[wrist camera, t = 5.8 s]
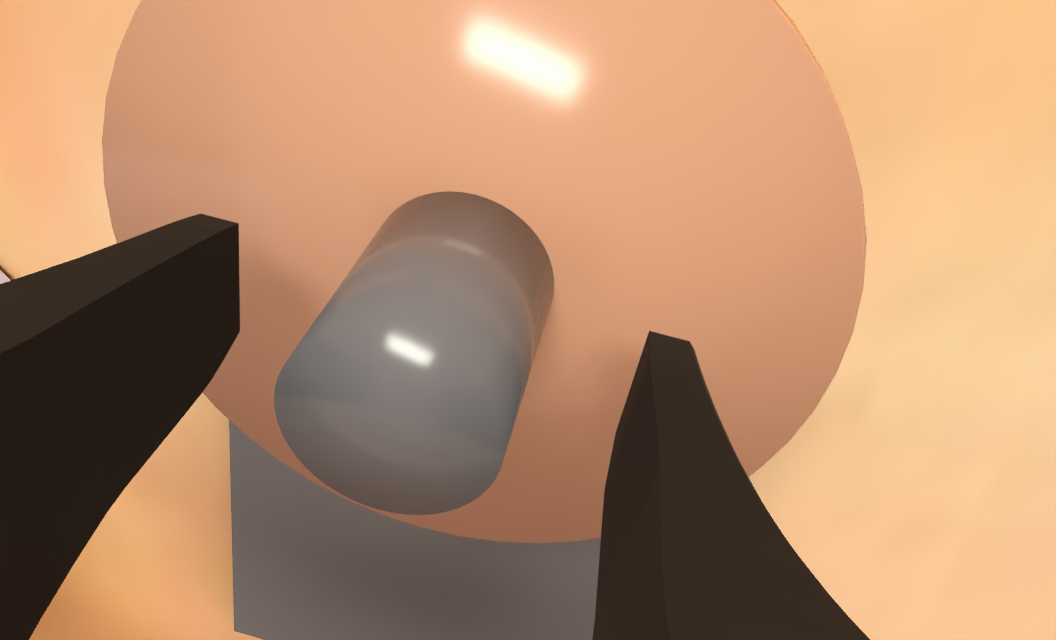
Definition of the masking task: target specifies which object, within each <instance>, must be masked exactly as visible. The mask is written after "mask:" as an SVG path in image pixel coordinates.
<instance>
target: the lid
mask: <svg viewBox="0 0 1056 640" xmlns="http://www.w3.org/2000/svg"><path fill="white" fill-rule="evenodd" d="M102 147H103V167H104V185H105V191H106V196H107V201H108V207H109V212H110V218H111V223H112V228H113V231H114V234H115V237H116V241H117V243H120V242H122V241H125V240H128V239H130V238H133V237H135V236H138V235H141V234H143V233H146V232H148V231H151V230H154V229H156V228H159V227H162V226H164V225H167V224H170V223H172V222H175V221H178V220H181V219H184V218H187V217H190V216H194V215H197V214H200V213H201V214H205V215H209V216H212V217H216V218H220V219H224V220H228V221H232V222H235V223H239V284H240V332H239V334H238V336H237V337H236V339H235V341H234V343H233V345H232V346H231V348H230V350H229V352H228V353H227V355H226V357H225V359H224V360H223V362H222V364H221V365H220V367H219V369H218V370H217V372H216V373H215V375H214V377H213V378H212V380H211V382H210V383H209V384H208V386H207V387H206V388H205V389H204V391H203V393H204V394H205V395H206V397H207V398H208V399H209V400H210V401H211V402H212V403H213V404H214V405H215V407H216V408H217V409H219V410H220V411H221V412H222V413H223V414H224V415H225V416H226V417H227V418H228V419H229V420H230V421H232V422H233V423H234V424H235V425H236V426H237V427H238V428H239V429H240V430H241V431H242V432H243V433H244V434H246V435H247V436H248V437H249V438H251V439H252V440H253V441H255V442H256V443H257V444H258V445H260V446H261V447H262V448H264V449H265V450H266V451H267V452H269V453H270V454H271V455H273V456H274V457H275V458H277V459H278V460H279V461H281V462H282V463H284V464H286V465H287V466H289V467H290V468H292V469H293V470H295V471H297V472H298V473H300V474H301V475H303V476H304V477H306V478H307V479H309V480H311V481H312V482H314V483H316V484H318V485H320V486H322V487H324V488H326V489H327V490H329V491H331V492H333V493H335V494H337V495H339V496H341V497H343V498H345V499H347V500H349V501H351V502H353V503H356V504H358V505H361V506H363V507H365V508H368V509H370V510H372V511H375V512H377V513H380V514H382V515H384V516H388V517H391V518H394V519H397V520H400V521H403V522H406V523H409V524H412V525H416V526H419V527H422V528H426V529H431V530H435V531H439V532H444V533H448V534H453V535H457V536H462V537H469V538H477V539H484V540H492V541H499V542H522V543H552V542H571V541H582V540H588V539H595V538H601V528H602V515H603V502H604V490H605V484H606V479H607V474H608V469H609V464H610V459H611V454H612V449H613V444H614V439H615V434H616V430H617V427H618V424H619V421H620V418H621V415H622V412H623V409H624V406H625V403H626V400H627V397H628V394H629V390H630V387H631V384H632V381H633V378H634V375H635V372H636V369H637V366H638V363H639V360H640V357H641V354H642V351H643V348H644V345H645V342H646V339H647V336H648V333H649V331H652V332H656V333H660V334H664V335H667V336H671V337H675V338H679V339H683V340H687V341H690V343H691V345H692V346H693V348H694V350H695V353H696V356H697V360H698V363H699V366H700V369H701V372H702V374H703V377H704V380H705V383H706V386H707V388H708V391H709V393H710V396H711V398H712V401H713V404H714V406H715V408H716V411H717V413H718V416H719V418H720V420H721V422H722V425H723V427H724V429H725V431H726V433H727V436H728V438H729V440H730V442H731V444H732V447H733V449H734V451H735V453H736V455H737V457H738V459H739V461H740V463H741V465H742V467H743V468H744V470H745V472H746V474H747V476H750V475H751V474H753V473H754V472H756V471H757V470H758V469H759V468H761V467H762V466H763V465H764V464H765V463H766V462H767V461H768V460H769V459H770V458H771V457H772V456H774V455H775V454H776V453H777V452H778V451H779V450H780V449H781V448H782V447H783V446H784V445H786V444H787V443H788V442H789V440H790V439H791V438H792V437H793V436H794V434H795V433H796V432H797V431H798V429H799V428H800V427H801V426H802V425H803V423H804V422H805V421H806V420H807V418H808V417H809V416H810V415H811V414H812V412H813V411H814V410H815V408H816V406H817V405H818V403H819V401H820V400H821V398H822V396H823V395H824V393H825V391H826V390H827V388H828V386H829V385H830V383H831V381H832V380H833V378H834V376H835V375H836V373H837V370H838V368H839V365H840V363H841V360H842V358H843V355H844V353H845V351H846V348H847V346H848V343H849V341H850V338H851V336H852V333H853V330H854V325H855V321H856V317H857V312H858V308H859V304H860V299H861V295H862V291H863V284H864V270H865V256H866V241H867V238H866V227H865V216H864V204H863V193H862V186H861V182H860V178H859V174H858V170H857V166H856V162H855V158H854V154H853V150H852V146H851V142H850V138H849V135H848V131H847V128H846V125H845V122H844V119H843V117H842V114H841V112H840V110H839V107H838V105H837V102H836V100H835V98H834V95H833V93H832V91H831V88H830V86H829V83H828V81H827V79H826V76H825V74H824V72H823V70H822V68H821V66H820V65H819V63H818V61H817V60H816V58H815V56H814V55H813V53H812V52H811V50H810V48H809V47H808V45H807V43H806V42H805V40H804V38H803V37H802V35H801V33H800V32H799V30H798V29H797V27H796V25H795V24H794V22H793V21H792V19H791V18H790V17H789V16H788V15H787V13H786V12H785V11H784V10H783V9H782V7H781V6H780V5H779V4H778V3H777V1H776V0H142V1H141V2H140V4H139V6H138V7H137V9H136V10H135V13H134V15H133V17H132V20H131V22H130V24H129V27H128V29H127V31H126V34H125V36H124V38H123V41H122V43H121V45H120V48H119V50H118V52H117V56H116V60H115V64H114V68H113V72H112V76H111V80H110V84H109V88H108V92H107V96H106V106H105V117H104V127H103V138H102Z"/></svg>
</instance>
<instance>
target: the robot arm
mask: <svg viewBox="0 0 1056 640" xmlns="http://www.w3.org/2000/svg"><path fill="white" fill-rule="evenodd" d="M239 332H240V284H239V223H235V222H232V221H228V220H224V219H220V218H216V217H212V216H209V215H205V214H201V213H200V214H197V215H194V216H190V217H187V218H184V219H181V220H178V221H175V222H172V223H170V224H167V225H164V226H162V227H159V228H156V229H154V230H151V231H148V232H146V233H143V234H141V235H138V236H135V237H133V238H130V239H128V240H125V241H122V242H120V243H117V244H114V245H112V246H109V247H107V248H104V249H101V250H99V251H96V252H93V253H91V254H88V255H85V256H83V257H80V258H77V259H74V260H71V261H68V262H65V263H62V264H59V265H56V266H53V267H50V268H48V269H45V270H42V271H39V272H36V273H33V274H30V275H27V276H24V277H21V278H18V279H15V280H12V281H11V280H10V279H9V278H8V277H7V276H6V275H5V274H4V273H3V272H2V271H1V270H0V640H29V638H30V637H31V635H32V633H33V631H34V630H35V628H36V626H37V624H38V622H39V621H40V619H41V617H42V616H43V614H44V612H45V611H46V609H47V607H48V606H49V604H50V602H51V601H52V599H53V598H54V596H55V594H56V593H57V591H58V589H59V588H60V586H61V584H62V583H63V581H64V579H65V578H66V576H67V574H68V573H69V571H70V569H71V568H72V566H73V564H74V563H75V561H76V560H77V558H78V557H79V555H80V553H81V552H82V550H83V549H84V547H85V546H86V544H87V543H88V541H89V539H90V538H91V536H92V535H93V533H94V532H95V530H96V529H97V527H98V525H99V524H100V522H101V521H102V519H103V518H104V516H105V515H106V513H107V512H108V510H109V509H110V507H111V506H112V505H113V503H114V502H115V501H116V499H117V498H118V497H119V495H120V494H121V493H122V491H123V490H124V488H125V487H126V486H127V485H128V483H129V482H130V481H131V480H132V478H133V477H134V476H135V475H136V474H137V472H138V471H139V470H140V469H141V467H142V466H143V465H144V464H145V463H146V461H147V460H148V459H149V458H150V456H151V455H152V454H153V453H154V451H155V450H156V449H157V448H158V447H159V445H160V444H161V443H162V442H163V440H164V439H165V438H166V437H167V436H168V434H169V433H170V432H171V431H172V429H173V428H174V427H175V426H176V425H177V423H178V422H179V421H180V420H181V418H182V417H183V416H184V415H185V413H186V412H187V411H188V410H189V408H190V407H191V406H192V405H193V403H194V402H195V401H196V400H197V398H198V397H199V396H200V395H201V393H202V392H203V391H204V389H205V388H206V387H207V386H208V384H209V383H210V382H211V380H212V378H213V377H214V375H215V373H216V372H217V370H218V369H219V367H220V365H221V364H222V362H223V360H224V359H225V357H226V355H227V353H228V352H229V350H230V348H231V346H232V345H233V343H234V341H235V339H236V337H237V336H238V334H239ZM592 640H870V639H869V638H868V637H867V636H866V635H865V634H864V633H863V632H862V631H861V630H860V629H859V627H858V626H857V625H856V624H855V623H854V622H853V621H852V620H851V619H850V618H849V617H848V616H847V615H846V613H845V612H844V611H843V610H842V609H841V608H840V606H839V605H838V604H837V603H836V602H835V601H834V600H833V598H832V597H831V596H830V595H829V594H828V593H827V591H826V590H825V589H824V588H823V586H822V585H821V584H820V583H819V581H818V580H817V579H816V578H815V576H814V575H813V574H812V573H811V571H810V570H809V569H808V568H807V566H806V565H805V564H804V563H803V561H802V560H801V559H800V557H799V556H798V555H797V553H796V552H795V551H794V549H793V548H792V547H791V545H790V544H789V542H788V541H787V540H786V538H785V537H784V535H783V534H782V532H781V531H780V529H779V528H778V526H777V525H776V523H775V522H774V520H773V519H772V517H771V516H770V514H769V512H768V511H767V509H766V508H765V506H764V504H763V503H762V501H761V499H760V497H759V496H758V494H757V492H756V491H755V489H754V487H753V485H752V483H751V481H750V480H749V478H748V476H747V474H746V472H745V470H744V468H743V467H742V465H741V463H740V461H739V459H738V457H737V455H736V453H735V451H734V449H733V447H732V444H731V442H730V440H729V438H728V436H727V433H726V431H725V429H724V427H723V425H722V422H721V420H720V418H719V416H718V413H717V411H716V408H715V406H714V404H713V401H712V398H711V396H710V393H709V391H708V388H707V386H706V383H705V380H704V377H703V374H702V372H701V369H700V366H699V363H698V360H697V356H696V353H695V350H694V348H693V346H692V345H691V343H690V341H687V340H683V339H679V338H675V337H671V336H667V335H664V334H660V333H656V332H652V331H649V333H648V336H647V339H646V342H645V345H644V348H643V351H642V354H641V357H640V360H639V363H638V366H637V369H636V372H635V375H634V378H633V381H632V384H631V387H630V390H629V394H628V397H627V400H626V403H625V406H624V409H623V412H622V415H621V418H620V421H619V424H618V427H617V430H616V434H615V439H614V444H613V449H612V454H611V459H610V464H609V469H608V474H607V479H606V484H605V490H604V502H603V515H602V528H601V542H600V556H599V569H598V583H597V597H596V610H595V622H594V630H593V638H592Z"/></svg>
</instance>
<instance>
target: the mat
mask: <svg viewBox="0 0 1056 640" xmlns="http://www.w3.org/2000/svg"><path fill="white" fill-rule="evenodd" d="M229 429H230V471H231V512H232V554H233V596H234V631H237V632H240V633H244V634H247V635H251V636H254V637H258V638H261V639H265V640H592V638H593V630H594V622H595V610H596V597H597V583H598V569H599V556H600V542H601V538H595V539H588V540H582V541H571V542H552V543H522V542H499V541H492V540H484V539H477V538H469V537H462V536H457V535H453V534H448V533H444V532H439V531H435V530H431V529H426V528H422V527H419V526H416V525H412V524H409V523H406V522H403V521H400V520H397V519H394V518H391V517H388V516H384V515H382V514H380V513H377V512H375V511H372V510H370V509H368V508H365V507H363V506H361V505H358V504H356V503H353V502H351V501H349V500H347V499H345V498H343V497H341V496H339V495H337V494H335V493H333V492H331V491H329V490H327V489H326V488H324V487H322V486H320V485H318V484H316V483H314V482H312V481H311V480H309V479H307V478H306V477H304V476H303V475H301V474H300V473H298V472H297V471H295V470H293V469H292V468H290V467H289V466H287V465H286V464H284V463H282V462H281V461H279V460H278V459H277V458H275V457H274V456H273V455H271V454H270V453H269V452H267V451H266V450H265V449H264V448H262V447H261V446H260V445H258V444H257V443H256V442H255V441H253V440H252V439H251V438H249V437H248V436H247V435H246V434H244V433H243V432H242V431H241V430H240V429H239V428H238V427H237V426H236V425H235V424H234V423H233V422H232V421H230V420H229Z"/></svg>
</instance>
